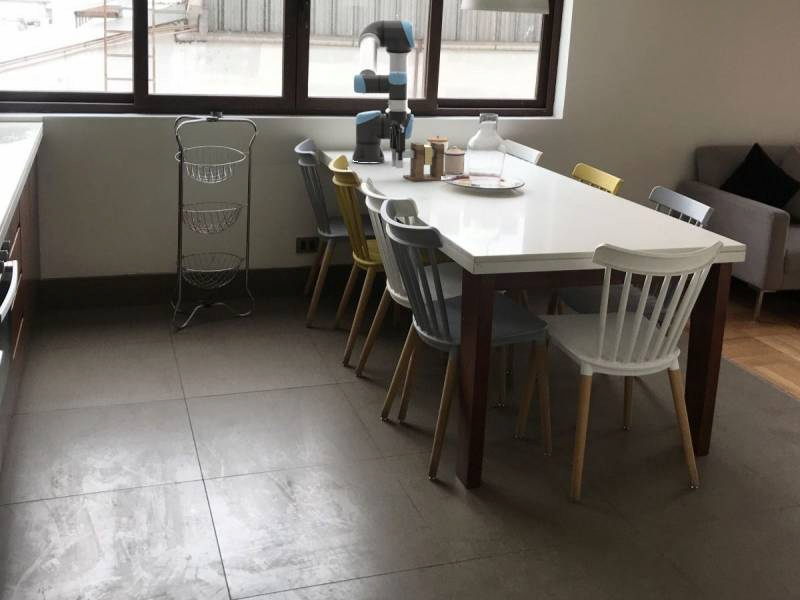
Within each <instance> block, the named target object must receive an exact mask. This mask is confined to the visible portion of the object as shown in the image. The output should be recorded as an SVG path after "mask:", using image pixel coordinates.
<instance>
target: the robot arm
mask: <svg viewBox="0 0 800 600" xmlns="http://www.w3.org/2000/svg"><path fill="white" fill-rule="evenodd" d="M357 43H358V44H357V45H358V48H359V68H358V70H359V71H358V74H356V75H354V76H353V91H354V93H356V94H363V95H364V94H388V102H387V105H388V108H386V109H385V113H382V111H381V110H370V111H369V110H367V111H363V112H359V113H358V114H357V115H356V117H355V147H354V150H353V154H352V157H351V158H352V159H351V161H352V160H354V161H358V162H383V161H384V162H385V154H384V151H383V148H382V145H381V144H382V143H381V142H382V140H389V149H391V151H392V148H397V151H395V152H396V160H394V159H392V158H391V167H395V169H403V168H404V167H403V165H404V161H403V159H404V158H403V152H404V151H405V150H406V140H409V139H411V136H412V132H413V125H414V114H412V112H411V111H412V110H411V109H410V108H409V107H408V99H409V98H408V95H409V91H408V89H409V87H408V86H409V83H408V82H409V55H410V54H411V53H412V52H413V51H412V50H413V48H415V47H416V44H415V35H414V25H413V23H412V22H411V20H403V19H395V20H394V19H393V20H389V19H388V20H385V19H383V20H382V19H381V20H379V19H377V20H373V21H371V22H370V23H368V24H367V25H366V26H365V27H364V28H363V29H362V30H361V31H360V33H359V36H358V41H357ZM379 48H385V52H386V54H387V55H388V63H389V64H388V74H378V73H377V72H378V50H379ZM384 162H383V163H384Z"/></svg>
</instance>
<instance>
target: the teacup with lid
mask: <svg viewBox="0 0 800 600" xmlns="http://www.w3.org/2000/svg"><path fill="white" fill-rule="evenodd" d="M465 154H466V153H465V151H463V150H461V149H460V148H458V146H456V145H453V146H452V148H450V149H447V151H445V153H444V174H448V175H460V174H459V173H463V174H464V173H465V156H466V155H465Z"/></svg>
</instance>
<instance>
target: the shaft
mask: <svg viewBox="0 0 800 600" xmlns="http://www.w3.org/2000/svg"><path fill="white" fill-rule="evenodd" d="M395 151H397V148H392V150H391V160H392V159H394V160H396V152H395ZM432 157H436V149H432ZM410 158H416V149H411V148H410V149H405V151H404V152H403V159H410Z"/></svg>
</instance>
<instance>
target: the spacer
mask: <svg viewBox="0 0 800 600" xmlns="http://www.w3.org/2000/svg"><path fill="white" fill-rule="evenodd" d="M423 145H424V166H430V165H432V147H431V146H428V145H427V144H423Z"/></svg>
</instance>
